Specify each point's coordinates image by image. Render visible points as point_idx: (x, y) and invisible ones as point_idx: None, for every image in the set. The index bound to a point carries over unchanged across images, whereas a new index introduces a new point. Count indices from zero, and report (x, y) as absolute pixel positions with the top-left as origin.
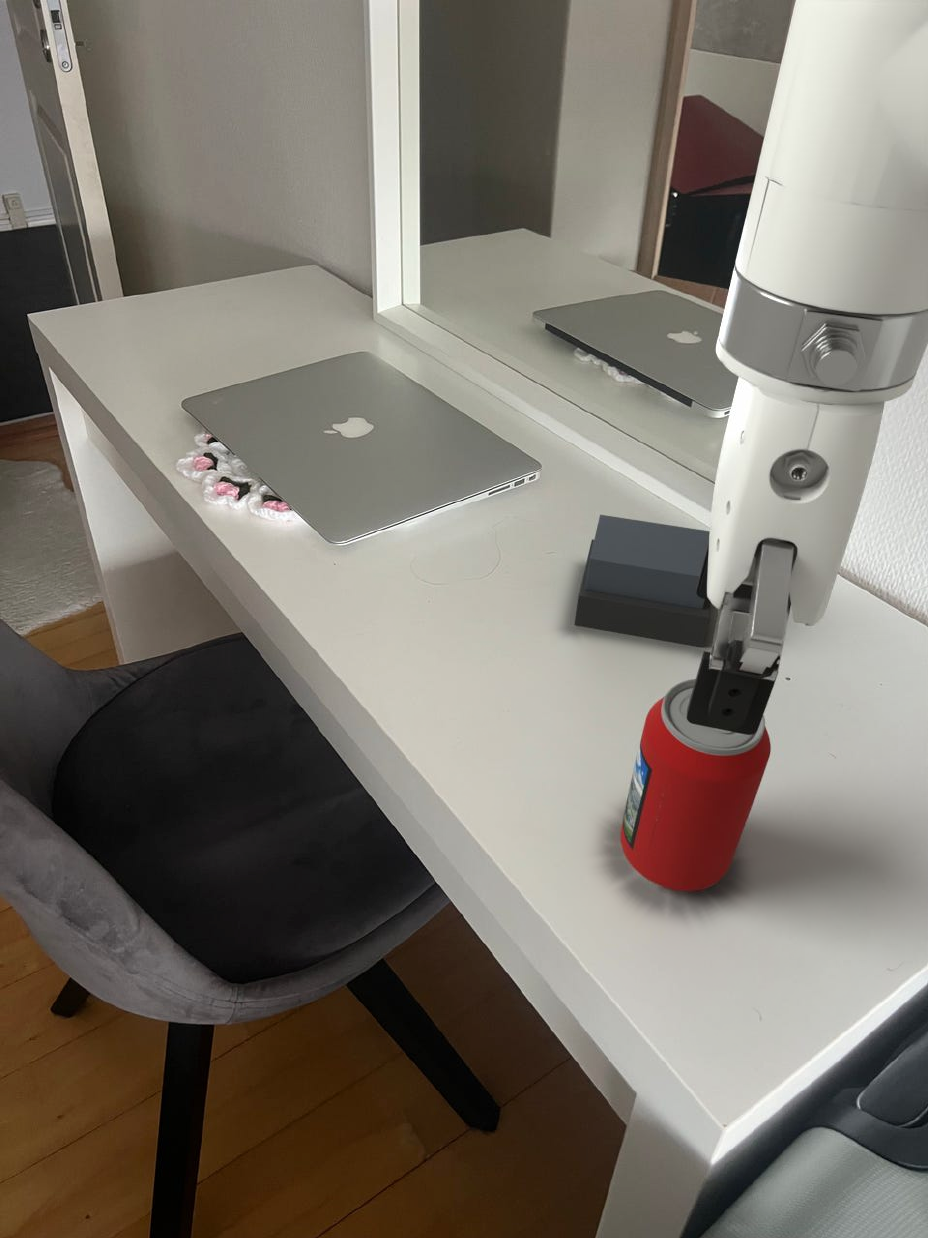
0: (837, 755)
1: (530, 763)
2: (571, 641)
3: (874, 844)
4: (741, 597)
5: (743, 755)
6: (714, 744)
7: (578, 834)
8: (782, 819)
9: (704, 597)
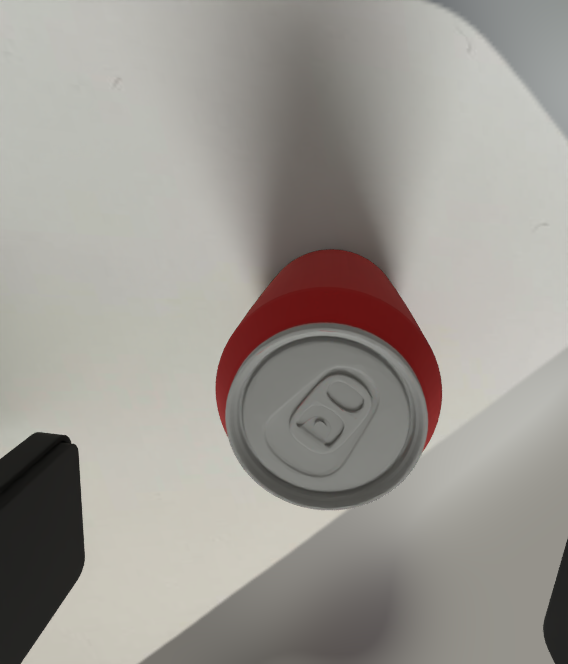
0: (114, 74)
1: (232, 468)
2: (16, 430)
3: (268, 38)
4: (64, 490)
5: (415, 367)
6: (403, 423)
7: None
8: (251, 170)
9: (82, 557)
